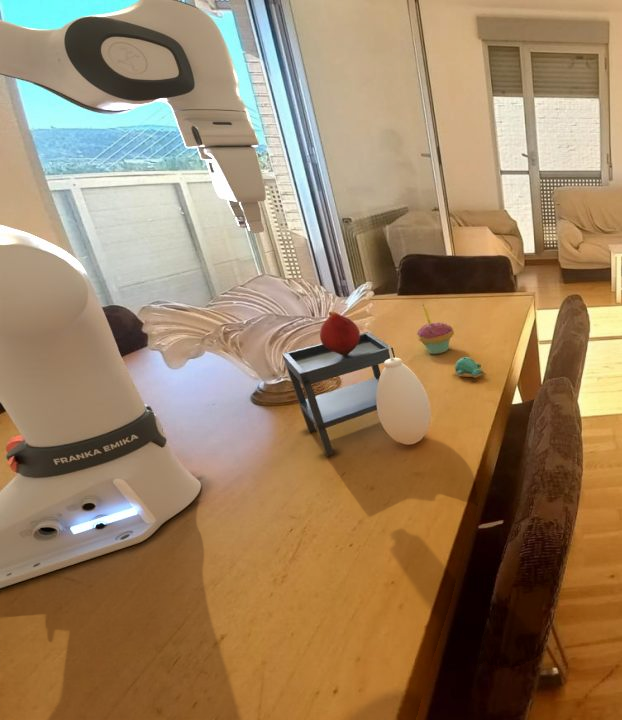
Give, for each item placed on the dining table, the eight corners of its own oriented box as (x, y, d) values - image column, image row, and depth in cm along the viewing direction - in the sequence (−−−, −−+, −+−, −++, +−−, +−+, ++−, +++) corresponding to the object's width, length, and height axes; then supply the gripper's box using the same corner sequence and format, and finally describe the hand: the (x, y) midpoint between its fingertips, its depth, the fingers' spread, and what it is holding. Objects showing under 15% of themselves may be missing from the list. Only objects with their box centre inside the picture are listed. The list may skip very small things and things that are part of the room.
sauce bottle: (416, 425, 87) (395, 333, 79) (445, 436, 83) (425, 340, 76) (378, 446, 80) (350, 349, 73) (407, 459, 77) (381, 358, 70)
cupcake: (413, 355, 118) (403, 308, 113) (435, 342, 125) (426, 299, 120) (443, 358, 115) (433, 311, 111) (463, 345, 123) (455, 300, 118)
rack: (327, 456, 78) (299, 373, 72) (308, 430, 86) (281, 353, 80) (411, 423, 87) (392, 347, 81) (386, 402, 95) (368, 331, 89)
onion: (355, 346, 85) (344, 303, 82) (370, 353, 82) (359, 309, 79) (321, 356, 81) (307, 312, 78) (335, 364, 78) (321, 318, 75)
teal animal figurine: (473, 366, 110) (470, 351, 109) (491, 375, 106) (488, 359, 104) (450, 375, 106) (447, 359, 105) (468, 384, 102) (465, 368, 100)
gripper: (185, 137, 75) (217, 227, 81) (200, 130, 62) (238, 238, 67) (234, 137, 79) (261, 222, 85) (258, 131, 66) (289, 232, 71)
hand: (251, 229), depth 76 cm, fingers open, 8 cm apart
